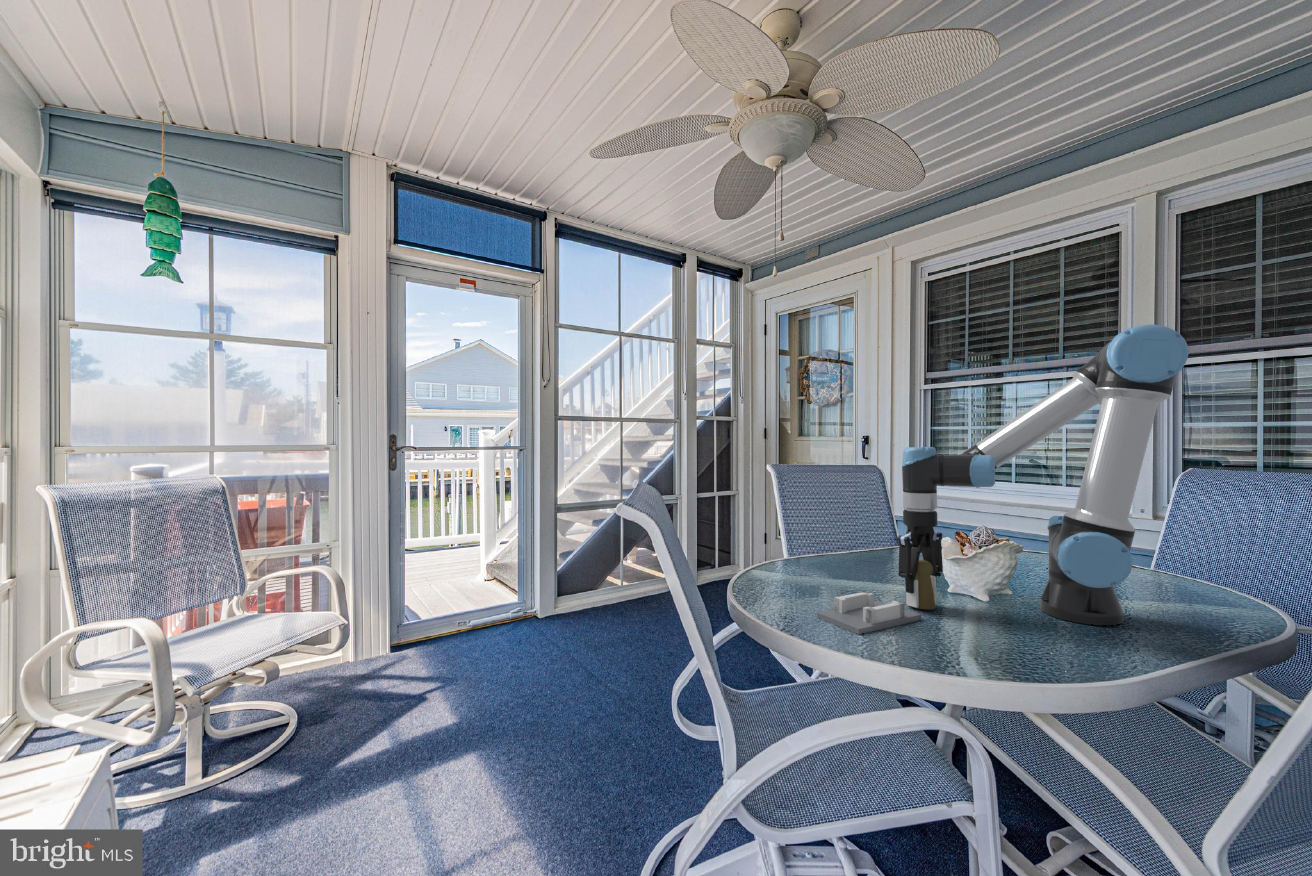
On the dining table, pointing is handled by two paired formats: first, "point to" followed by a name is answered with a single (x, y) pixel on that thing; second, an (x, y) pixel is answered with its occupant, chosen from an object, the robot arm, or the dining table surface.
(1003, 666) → the dining table surface
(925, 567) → the cork
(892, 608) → the base
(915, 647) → the dining table surface
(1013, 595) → the dining table surface
